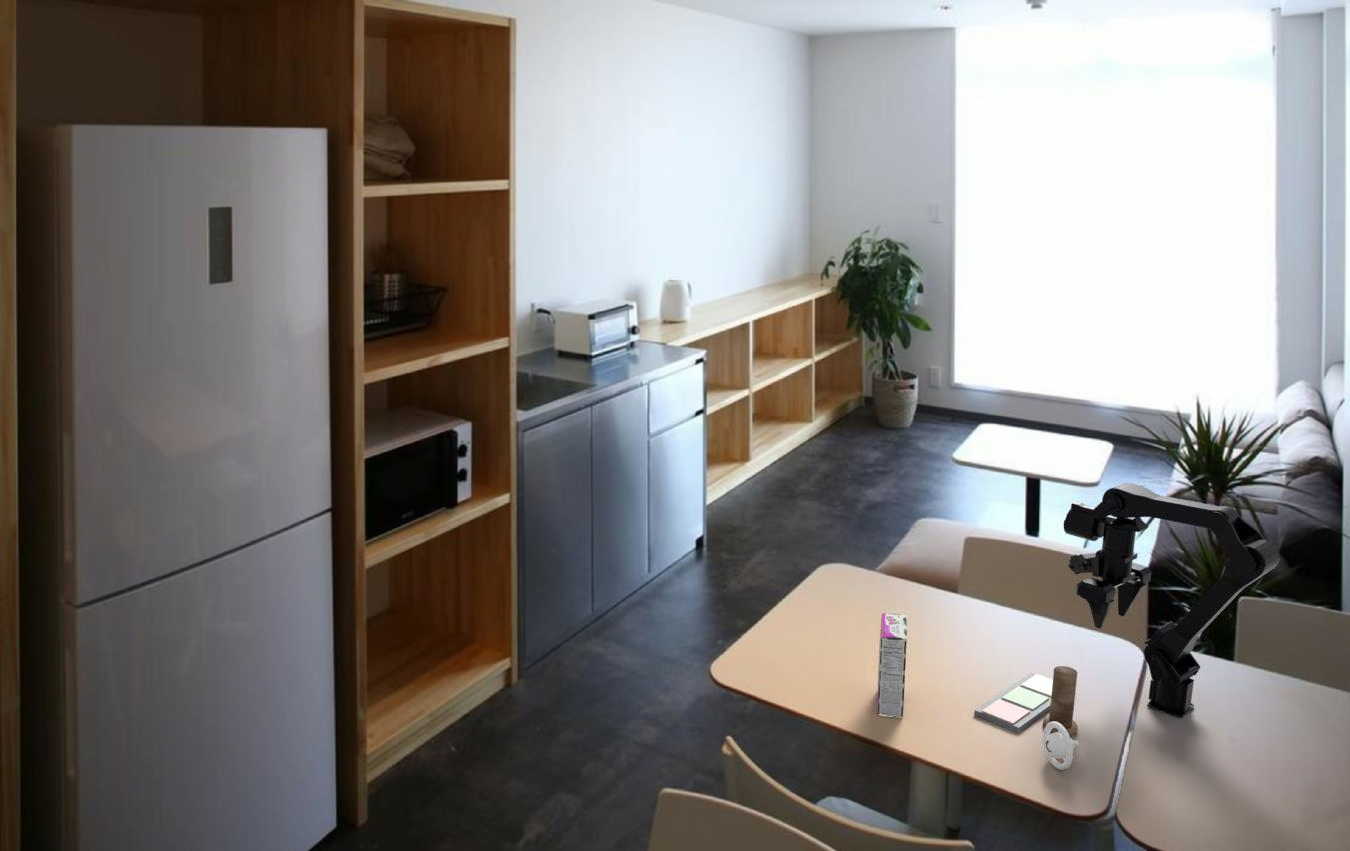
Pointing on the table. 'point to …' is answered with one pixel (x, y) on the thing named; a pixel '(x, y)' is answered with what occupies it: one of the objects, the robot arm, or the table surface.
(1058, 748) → the ring around a ball
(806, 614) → the table surface
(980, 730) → the table surface
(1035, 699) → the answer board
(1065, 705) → the brown wooden peg
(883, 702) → the candy bar box
